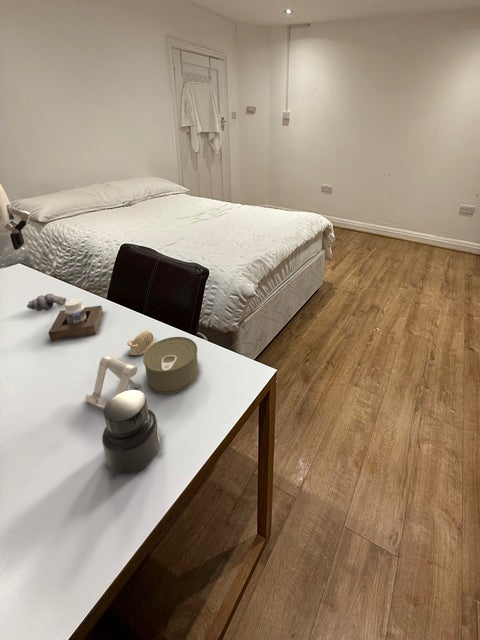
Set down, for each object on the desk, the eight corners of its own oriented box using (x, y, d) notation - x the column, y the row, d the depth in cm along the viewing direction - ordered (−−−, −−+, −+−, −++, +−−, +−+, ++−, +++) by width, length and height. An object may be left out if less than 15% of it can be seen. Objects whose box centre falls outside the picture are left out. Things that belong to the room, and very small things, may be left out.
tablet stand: (86, 403, 70) (79, 373, 67) (117, 378, 77) (112, 350, 74) (115, 417, 67) (109, 387, 64) (145, 390, 74) (140, 361, 71)
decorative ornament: (159, 343, 89) (157, 327, 87) (134, 362, 82) (131, 345, 80) (148, 339, 91) (146, 323, 89) (123, 357, 84) (119, 341, 82)
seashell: (68, 306, 106) (30, 316, 100) (65, 290, 106) (26, 300, 101) (66, 303, 101) (26, 314, 96) (63, 287, 102) (22, 297, 96)
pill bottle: (76, 333, 92) (70, 308, 88) (64, 328, 93) (58, 304, 90) (91, 324, 96) (86, 299, 93) (80, 320, 97) (74, 296, 94)
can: (201, 356, 85) (200, 335, 83) (195, 392, 74) (193, 369, 72) (154, 359, 83) (151, 338, 81) (140, 397, 72) (136, 373, 70)
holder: (50, 341, 88) (48, 332, 87) (62, 319, 97) (60, 310, 96) (96, 334, 92) (94, 325, 90) (103, 313, 101) (101, 305, 100)
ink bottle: (171, 437, 64) (165, 391, 60) (141, 482, 56) (131, 433, 52) (129, 425, 66) (120, 380, 62) (94, 467, 58) (81, 419, 54)
